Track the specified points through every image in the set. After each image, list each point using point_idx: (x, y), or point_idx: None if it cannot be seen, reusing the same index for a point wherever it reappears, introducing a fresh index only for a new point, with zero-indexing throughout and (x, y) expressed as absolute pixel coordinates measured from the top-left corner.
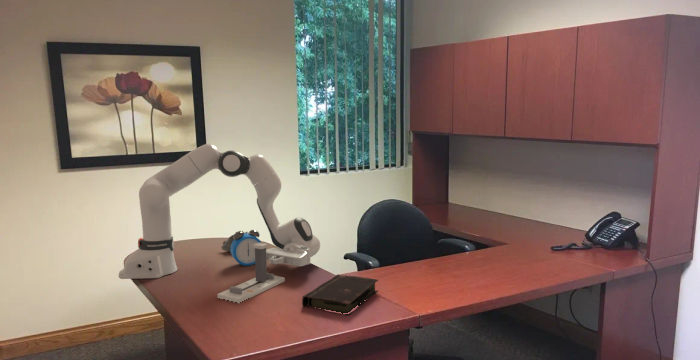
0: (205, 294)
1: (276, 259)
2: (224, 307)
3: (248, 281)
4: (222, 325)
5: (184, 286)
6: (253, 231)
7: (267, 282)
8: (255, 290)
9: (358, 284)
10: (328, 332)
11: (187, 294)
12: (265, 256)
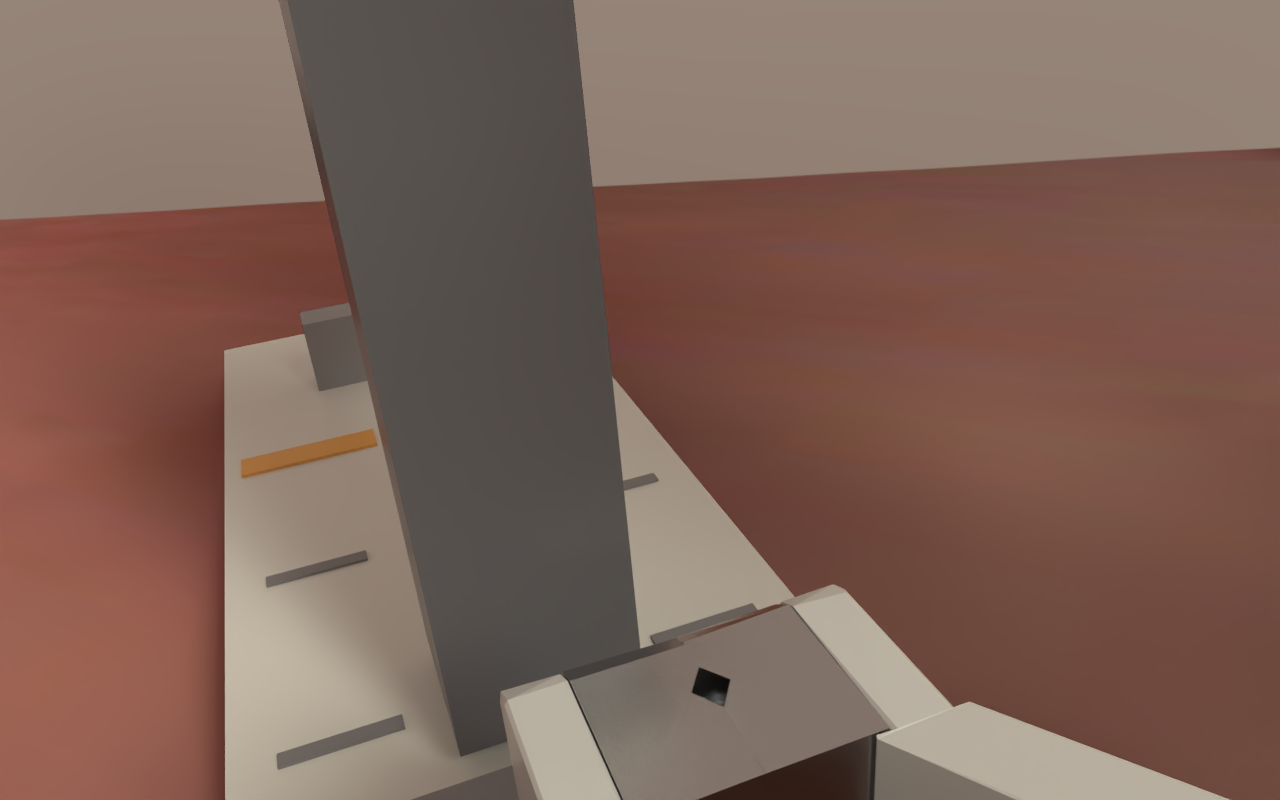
0: (722, 294)
1: (550, 759)
2: (288, 326)
3: (705, 537)
4: (39, 283)
5: (1068, 241)
6: None
7: (374, 746)
8: (248, 497)
9: None
10: None
11: (819, 239)
12: (314, 123)
